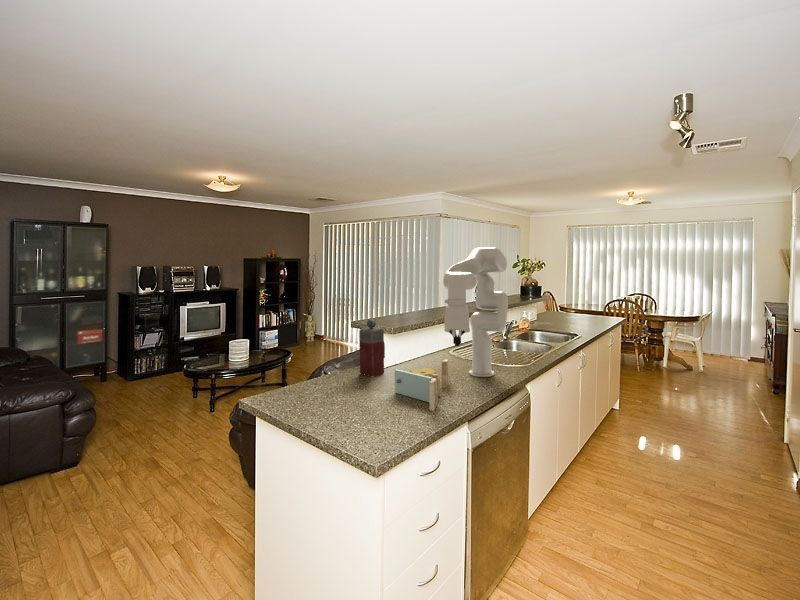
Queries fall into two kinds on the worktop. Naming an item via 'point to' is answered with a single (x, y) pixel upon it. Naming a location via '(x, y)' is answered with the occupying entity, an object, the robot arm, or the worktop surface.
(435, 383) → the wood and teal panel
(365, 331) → the red canister
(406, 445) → the worktop surface
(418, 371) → the cheese
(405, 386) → the door
